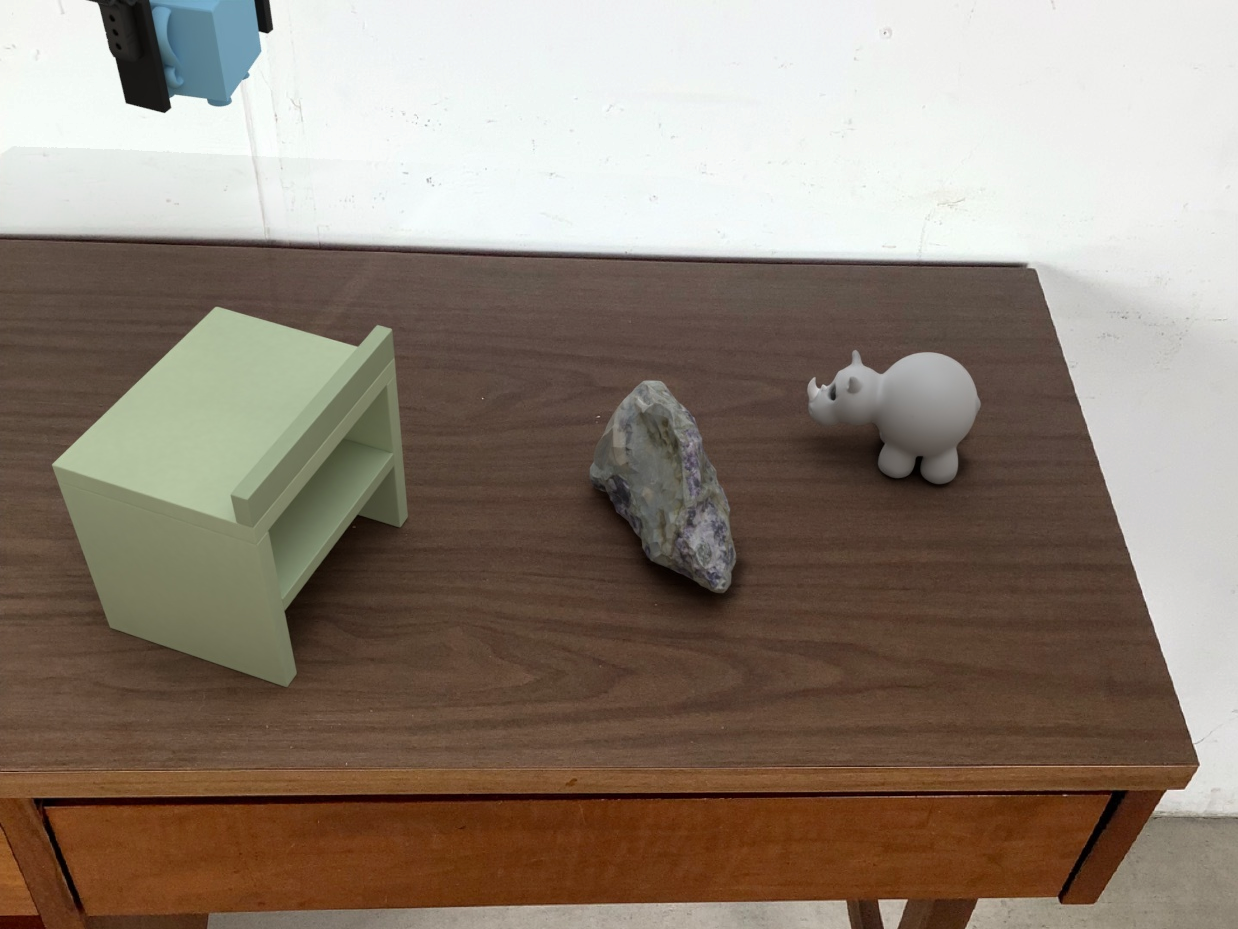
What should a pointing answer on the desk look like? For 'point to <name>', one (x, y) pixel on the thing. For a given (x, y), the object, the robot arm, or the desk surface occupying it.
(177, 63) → the teapot
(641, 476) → the mineral rock
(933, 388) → the toy rhinoceros
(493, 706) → the desk surface
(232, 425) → the shelf
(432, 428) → the desk surface
